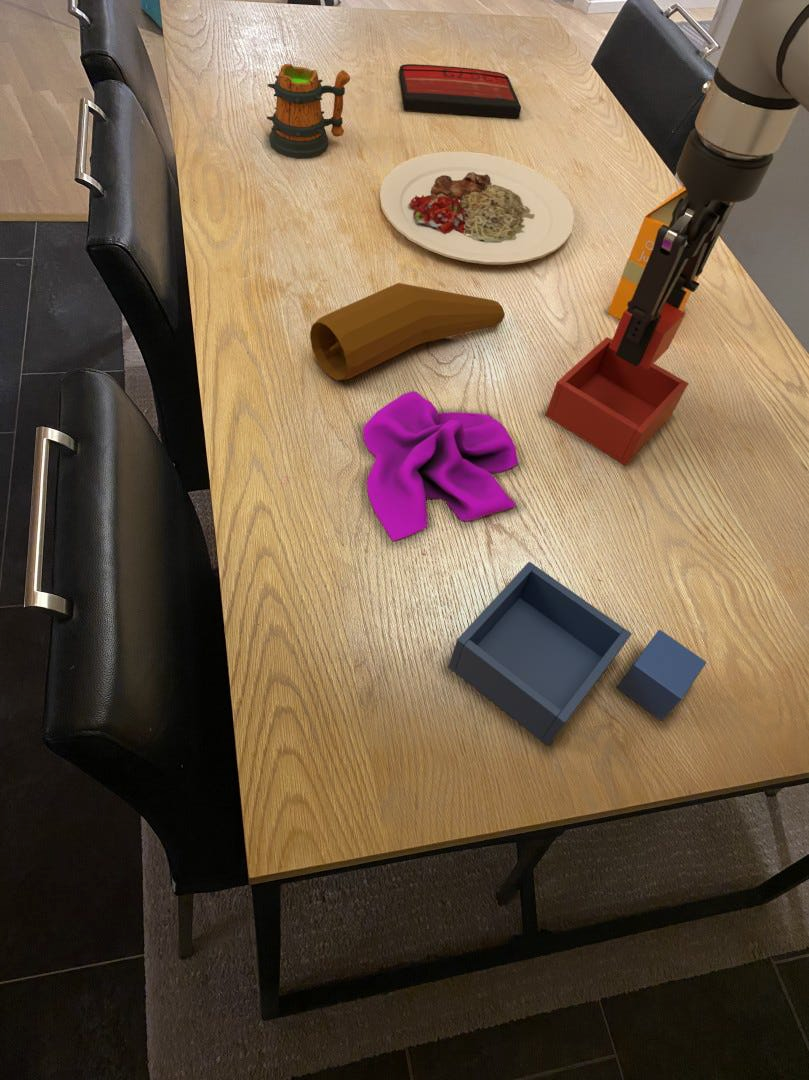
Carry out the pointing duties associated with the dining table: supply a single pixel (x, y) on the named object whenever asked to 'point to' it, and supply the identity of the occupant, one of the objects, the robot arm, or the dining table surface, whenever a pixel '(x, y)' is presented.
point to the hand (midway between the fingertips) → (640, 346)
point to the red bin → (614, 402)
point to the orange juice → (645, 254)
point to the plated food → (476, 207)
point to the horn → (395, 326)
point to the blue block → (661, 675)
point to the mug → (304, 112)
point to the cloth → (434, 463)
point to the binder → (457, 91)
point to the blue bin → (537, 651)
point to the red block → (660, 336)
